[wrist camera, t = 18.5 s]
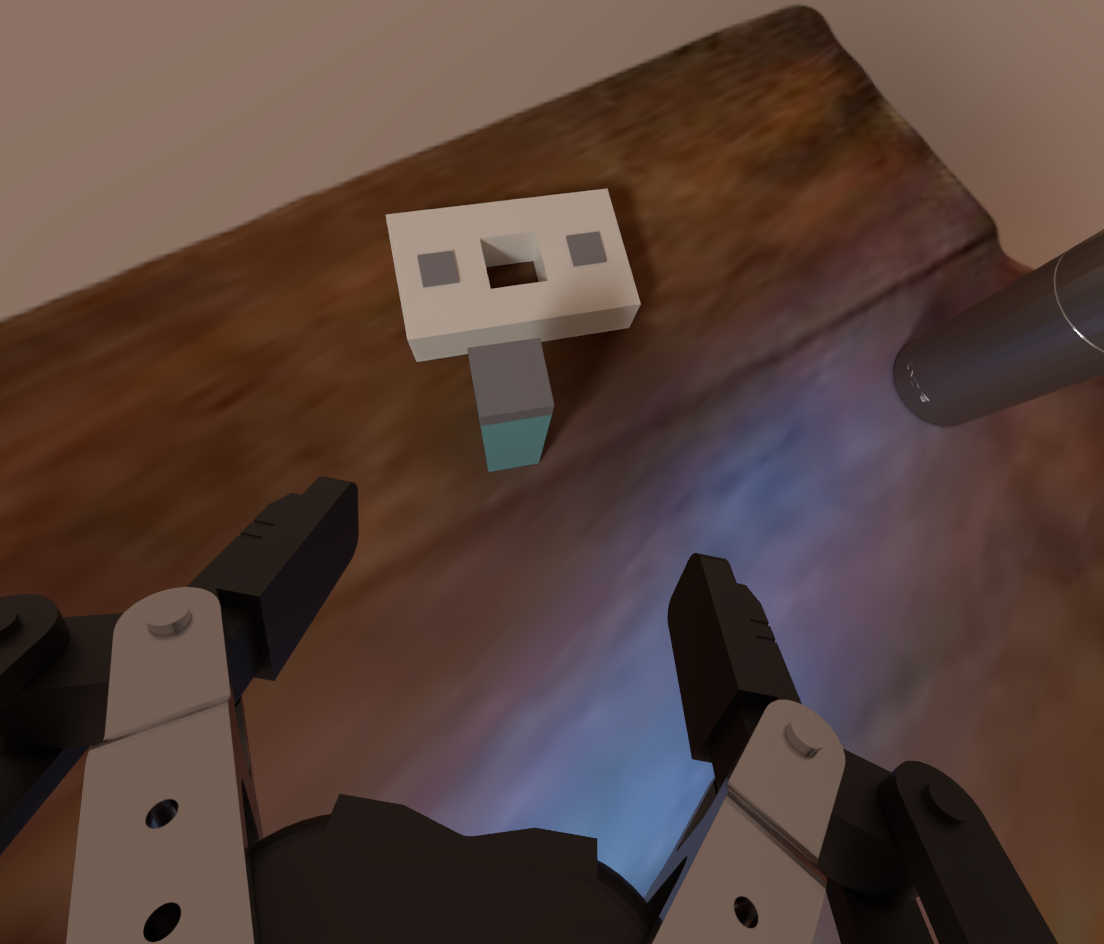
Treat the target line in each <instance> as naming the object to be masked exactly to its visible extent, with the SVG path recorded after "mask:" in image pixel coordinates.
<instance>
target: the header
mask: <svg viewBox="0 0 1104 944" xmlns="http://www.w3.org/2000/svg"><path fill="white" fill-rule="evenodd" d="M386 220H387V225H388V231H389V237H390V243H391V248H392V254H393V260H394V265H395V271H396V277H397V282H398V288H399V294H400V300H401V305H402V311H403V317H404V322H405V328H406V334H407V339H408V342H409V345H410V347H411V349H412V352H413V354H414V357H415V359H416V362H420V361H426V360H432V359H439V358H445V357H451V356H457V355H464V354H468V349H467V348H470V347H477V346H484V345H491V344H498V343H506V342H513V341H520V340H527V339H535V338H540V340H541V342H544V341H551V340H557V339H563V338H569V337H576V336H582V335H588V334H594V333H600V332H607V331H613V330H619V329H625V328H629V327H630V325H631V323H632V321H633V319H634V317H635V315H636V313H637V311H638V309H639V307H640V305H641V303H640V300H639V296H638V293H637V289H636V286H635V282H634V279H633V276H632V272H631V269H630V265H629V262H628V258H627V255H626V251H625V248H624V244H623V241H622V237H621V234H620V231H619V227H618V224H617V220H616V217H615V213H614V210H613V206H612V203H611V199H610V196H609V192H608V189H599V190H591V191H582V192H574V193H565V194H557V195H548V196H540V197H531V198H523V199H514V200H506V201H498V202H489V203H481V204H472V205H464V206H455V207H447V208H438V209H430V210H421V211H413V212H405V213H396V214H388V215H386ZM529 261H534V266H535V270H536V274H537V278H538V282H536V283H529V284H522V285H515V286H508V287H501V288H494V289H491V288H490V284H489V279H488V275H487V270H486V267H492V266H500V265H507V264H514V263H522V262H529Z"/></svg>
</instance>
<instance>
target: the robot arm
mask: <svg viewBox="0 0 1104 944" xmlns="http://www.w3.org/2000/svg"><path fill="white" fill-rule="evenodd" d="M1102 375H1104V229H1103V230H1102V231H1100V232H1098V233H1096V234H1095V235H1093V236H1091V237H1090V238H1088V239H1086V240H1085V241H1083V242H1081V243H1080V244H1078V245H1076V246H1074V247H1073V248H1071V249H1070V250H1068V251H1066V252H1065V253H1063V254H1061V255H1060V256H1058V257H1057V258H1055V259H1053V260H1051V261H1049V262H1048V263H1046V264H1044V265H1043V266H1041V267H1039V268H1037V269H1036V270H1034V271H1032V272H1031V273H1029V274H1027V275H1026V276H1024V277H1022V278H1021V279H1019V280H1017V281H1015V282H1014V283H1012V284H1010V285H1009V286H1007V287H1005V288H1004V289H1002V290H1000V291H998V292H997V293H995V294H993V295H992V296H990V297H988V298H987V299H985V300H983V301H981V302H980V303H978V304H976V305H975V306H973V307H971V308H970V309H968V310H966V311H964V312H963V313H961V314H959V315H958V316H956V317H954V318H953V319H951V320H949V321H947V322H946V323H944V324H942V325H940V326H939V327H937V328H935V329H934V330H932V331H930V332H929V333H927V334H925V335H923V336H922V337H920V338H918V339H917V340H915V341H913V342H912V343H910V344H909V345H907V346H906V347H905V348H903V350H902V351H901V352H900V353H899V355H898V357H897V359H896V362H895V367H894V380H895V384H896V387H897V390H898V392H899V394H900V396H901V398H902V400H903V401H904V403H905V404H906V405H907V407H908V408H909V409H910V410H912V411H913V412H914V413H915V414H916V415H917V416H919V417H920V418H922V419H923V420H925V421H928V422H930V423H932V424H935V425H940V426H956V425H960V424H963V423H966V422H969V421H972V420H975V419H978V418H981V417H984V416H986V415H989V414H992V413H995V412H998V411H1001V410H1004V409H1007V408H1010V407H1013V406H1016V405H1019V404H1021V403H1024V402H1027V401H1030V400H1033V399H1036V398H1039V397H1041V396H1044V395H1047V394H1050V393H1053V392H1056V391H1059V390H1061V389H1064V388H1067V387H1070V386H1073V385H1076V384H1079V383H1082V382H1084V381H1087V380H1090V379H1093V378H1096V377H1099V376H1102ZM358 534H359V530H358V489H357V485H356V484H355V483H353V482H348V481H343V480H338V479H333V478H328V477H323V476H322V477H319V478H318V479H317V480H316V481H315V482H314V483H313V484H312V485H311V486H310V487H309V488H308V489H307V490H306V491H305V492H304V494H303V495H300V494H295V493H291V494H289V495H287V496H285V497H283V498H281V499H279V500H277V501H275V502H273V503H271V504H269V505H268V506H267V507H266V508H265V509H264V510H263V511H262V512H261V513H260V514H259V515H258V516H257V517H256V518H255V519H254V522H253V523H250V524H249V525H248V526H247V527H246V528H245V529H244V530H243V531H242V532H241V535H240V536H237V537H236V538H235V539H234V540H233V541H232V542H231V543H230V544H229V545H228V546H227V547H226V548H225V549H224V550H223V551H222V552H221V553H220V554H219V555H218V556H217V557H216V558H215V559H214V560H213V561H212V562H211V563H210V564H209V565H208V566H207V567H206V568H205V569H204V570H203V571H202V572H201V573H200V574H199V575H198V576H197V577H196V578H195V579H194V580H193V581H192V582H191V583H190V584H189V585H188V586H187V587H181V588H174V589H168V590H165V591H161V592H158V593H155V594H153V595H150V596H148V597H146V598H144V599H142V600H141V601H139V602H137V603H136V604H134V605H133V606H132V607H130V608H129V609H128V610H127V611H126V612H125V613H120V614H106V615H92V616H77V617H62V616H61V614H60V612H59V610H58V608H57V606H56V604H55V603H54V602H53V601H52V600H50V599H48V598H46V597H43V596H39V595H29V594H25V595H12V596H6V597H1V598H0V855H1V854H2V852H3V851H4V850H5V849H6V848H7V846H8V845H9V844H10V843H11V842H12V840H13V839H14V838H15V837H16V835H17V834H18V833H19V832H20V831H21V829H22V828H23V827H24V826H25V824H26V823H27V822H28V821H29V820H30V818H31V817H32V816H33V815H34V813H35V812H36V811H37V810H38V809H39V807H40V806H41V805H42V804H43V802H44V801H45V800H46V799H47V798H48V796H49V795H50V794H51V793H52V792H53V790H54V789H55V788H56V787H57V785H58V784H59V783H60V782H61V781H62V779H63V778H64V777H65V776H66V774H67V773H68V772H69V771H70V770H71V768H72V767H73V766H74V765H75V763H76V762H77V761H78V760H79V759H80V757H81V756H82V755H83V754H84V752H85V751H86V750H87V749H88V748H89V746H90V745H92V747H91V748H90V750H89V753H88V756H87V760H86V766H85V774H84V783H83V793H82V802H81V811H80V820H79V829H78V839H77V848H76V857H75V866H74V875H73V885H72V894H71V903H70V912H69V921H68V930H67V940H66V944H812V941H813V937H814V934H815V930H816V926H817V922H818V918H819V915H820V911H821V907H822V903H823V899H824V895H825V891H826V893H827V896H828V900H829V903H830V907H831V910H832V914H833V917H834V920H835V924H836V927H837V931H838V934H839V938H840V941H841V944H934V942H933V940H932V938H931V935H930V933H929V930H928V928H927V926H926V923H925V921H924V918H923V916H922V913H921V911H920V909H919V906H918V904H917V901H916V899H915V898H917V897H920V899H921V901H922V904H923V906H924V909H925V911H926V913H927V916H928V918H929V920H930V923H931V925H932V928H933V930H934V932H935V935H936V937H937V939H938V942H939V944H1058V943H1057V941H1056V939H1055V938H1054V936H1053V934H1052V932H1051V931H1050V929H1049V927H1048V926H1047V924H1046V922H1045V920H1044V919H1043V917H1042V915H1041V913H1040V912H1039V910H1038V908H1037V907H1036V905H1035V903H1034V901H1033V900H1032V898H1031V896H1030V894H1029V893H1028V891H1027V889H1026V888H1025V886H1024V884H1023V882H1022V881H1021V879H1020V877H1019V875H1018V874H1017V872H1016V870H1015V869H1014V867H1013V865H1012V863H1011V862H1010V860H1009V858H1008V856H1007V855H1006V853H1005V851H1004V850H1003V848H1002V846H1001V844H1000V843H999V841H998V839H997V837H996V836H995V834H994V832H993V831H992V829H991V827H990V825H989V824H988V822H987V820H986V818H985V817H984V815H983V813H982V812H981V810H980V809H979V807H978V806H977V805H976V803H975V802H974V801H973V799H972V798H971V797H970V796H969V795H968V794H967V793H966V792H965V791H964V790H963V789H962V788H961V787H960V786H959V785H958V784H957V783H956V782H955V781H953V780H952V779H951V778H950V777H948V776H947V775H945V774H944V773H943V772H941V771H939V770H938V769H936V768H934V767H932V766H930V765H927V764H925V763H922V762H917V761H906V762H903V763H902V764H900V765H899V766H898V767H897V768H896V769H895V770H894V771H892V772H890V771H887V770H885V769H883V768H881V767H879V766H877V765H875V764H873V763H871V762H869V761H867V760H865V759H863V758H861V757H859V756H857V755H855V754H853V753H851V752H849V751H847V750H845V749H843V747H842V745H841V742H840V741H839V739H838V737H837V735H836V734H835V732H834V731H833V730H832V728H831V727H830V726H829V725H828V724H827V723H826V722H825V721H824V720H823V719H822V718H821V717H820V716H819V715H818V714H816V713H815V712H814V711H812V710H811V709H809V708H808V707H806V706H804V705H802V703H801V701H800V698H799V696H798V694H797V691H796V689H795V686H794V684H793V681H792V679H791V676H790V674H789V672H788V669H787V667H786V664H785V662H784V659H783V657H782V654H781V652H780V649H779V647H778V645H777V643H775V637H774V635H773V632H772V630H771V627H770V626H768V623H769V622H768V620H767V618H766V615H765V613H764V610H763V608H762V605H761V603H760V602H759V601H758V600H757V598H756V597H755V596H754V595H753V594H752V592H751V591H750V590H749V589H748V588H747V586H746V585H743V584H738V583H736V580H735V577H734V575H733V572H732V569H731V566H730V564H729V562H728V561H727V560H726V559H723V558H718V557H713V556H708V555H703V554H698V553H694V554H692V555H691V557H690V558H689V560H688V562H687V565H686V567H685V569H684V571H683V573H682V575H681V577H680V579H679V582H678V584H677V586H676V588H675V590H674V592H673V594H672V597H671V599H670V603H669V608H668V626H669V632H670V637H671V643H672V649H673V654H674V660H675V665H676V671H677V677H678V682H679V688H680V693H681V699H682V705H683V710H684V716H685V722H686V727H687V733H688V738H689V744H690V750H691V755H692V759H694V760H699V761H705V762H710V763H712V765H713V770H714V775H715V777H714V778H713V780H712V781H711V783H710V784H709V786H708V788H707V789H706V791H705V793H704V795H703V797H702V799H701V800H700V802H699V804H698V806H697V808H696V810H695V811H694V813H693V815H692V817H691V819H690V820H689V822H688V824H687V826H686V828H685V830H684V831H683V833H682V835H681V837H680V839H679V841H678V842H677V844H676V846H675V848H674V850H673V851H672V853H671V855H670V857H669V859H668V860H667V862H666V864H665V865H664V867H663V868H662V870H661V872H660V873H659V875H658V876H657V878H656V879H655V881H654V882H653V884H652V885H651V887H650V889H649V890H648V892H647V894H646V895H645V897H644V898H643V897H642V896H641V895H640V894H639V893H638V891H637V890H636V889H635V888H634V887H633V886H632V885H631V884H630V883H629V882H628V881H626V880H625V879H624V878H623V877H622V876H621V875H620V874H618V873H617V872H616V871H614V870H613V869H611V868H610V867H608V866H607V865H606V864H604V863H602V862H600V861H598V860H597V838H591V837H585V836H580V835H574V834H568V833H562V832H557V831H551V830H545V829H539V828H530V829H522V830H515V831H508V832H501V833H494V834H486V835H479V836H463V835H461V834H459V833H457V832H455V831H453V830H451V829H449V828H447V827H445V826H443V825H441V824H439V823H437V822H435V821H434V820H432V819H430V818H428V817H426V816H424V815H422V814H420V813H418V812H416V811H414V810H412V809H411V808H409V807H407V806H405V805H401V804H395V803H389V802H383V801H378V800H372V799H366V798H360V797H354V796H349V795H343V794H339V796H338V799H337V801H336V803H335V806H334V808H333V811H332V813H331V814H329V815H322V816H317V817H314V818H310V819H306V820H302V821H300V822H297V823H295V824H292V825H290V826H287V827H284V828H282V829H280V830H278V831H277V832H275V833H273V834H271V835H269V836H267V837H265V838H263V832H262V826H261V820H260V814H259V809H258V804H257V799H256V793H255V786H254V779H253V772H252V764H251V757H250V750H249V742H248V735H247V727H246V720H245V712H244V705H243V699H242V693H243V692H244V691H245V689H246V688H247V686H248V685H249V683H250V682H251V680H252V679H253V677H255V678H261V679H266V680H272V681H275V679H276V677H277V676H278V674H279V673H280V671H281V670H282V668H283V666H284V665H285V663H286V662H287V660H288V659H289V657H290V655H291V654H292V652H293V651H294V649H295V648H296V646H297V644H298V643H299V641H300V640H301V638H302V637H303V635H304V633H305V632H306V630H307V629H308V627H309V626H310V624H311V622H312V621H313V619H314V618H315V616H316V615H317V613H318V611H319V610H320V608H321V607H322V605H323V604H324V602H325V600H326V599H327V597H328V596H329V594H330V593H331V591H332V589H333V588H334V586H335V585H336V583H337V581H338V580H339V578H340V577H341V575H342V574H343V572H344V570H345V569H346V567H347V566H348V564H349V563H350V561H351V559H352V557H353V555H354V553H355V550H356V546H357V542H358Z"/></svg>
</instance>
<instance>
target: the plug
mask: <svg viewBox="0 0 1104 944" xmlns="http://www.w3.org/2000/svg"><path fill="white" fill-rule="evenodd" d="M467 349H468V355H469V361H470V367H471V373H472V379H473V385H474V391H475V397H476V402H477V408H478V414H479V420H480V426H481V432H482V437H483V443H484V449H485V454H486V460H487V465H488V471H489V472H491V471H497V470H503V469H508V468H514V467H520V466H525V465H531V464H537V463H539V461H540V457H541V453H542V450H543V446H544V442H545V438H546V435H547V431H548V427H549V424H550V420H551V416H552V412H553V409H554V401H553V397H552V392H551V387H550V383H549V378H548V373H547V368H546V364H545V359H544V354H543V350H542V345H541V340H540V338H535V339H527V340H520V341H513V342H506V343H498V344H491V345H484V346H477V347H470V348H467Z"/></svg>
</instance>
